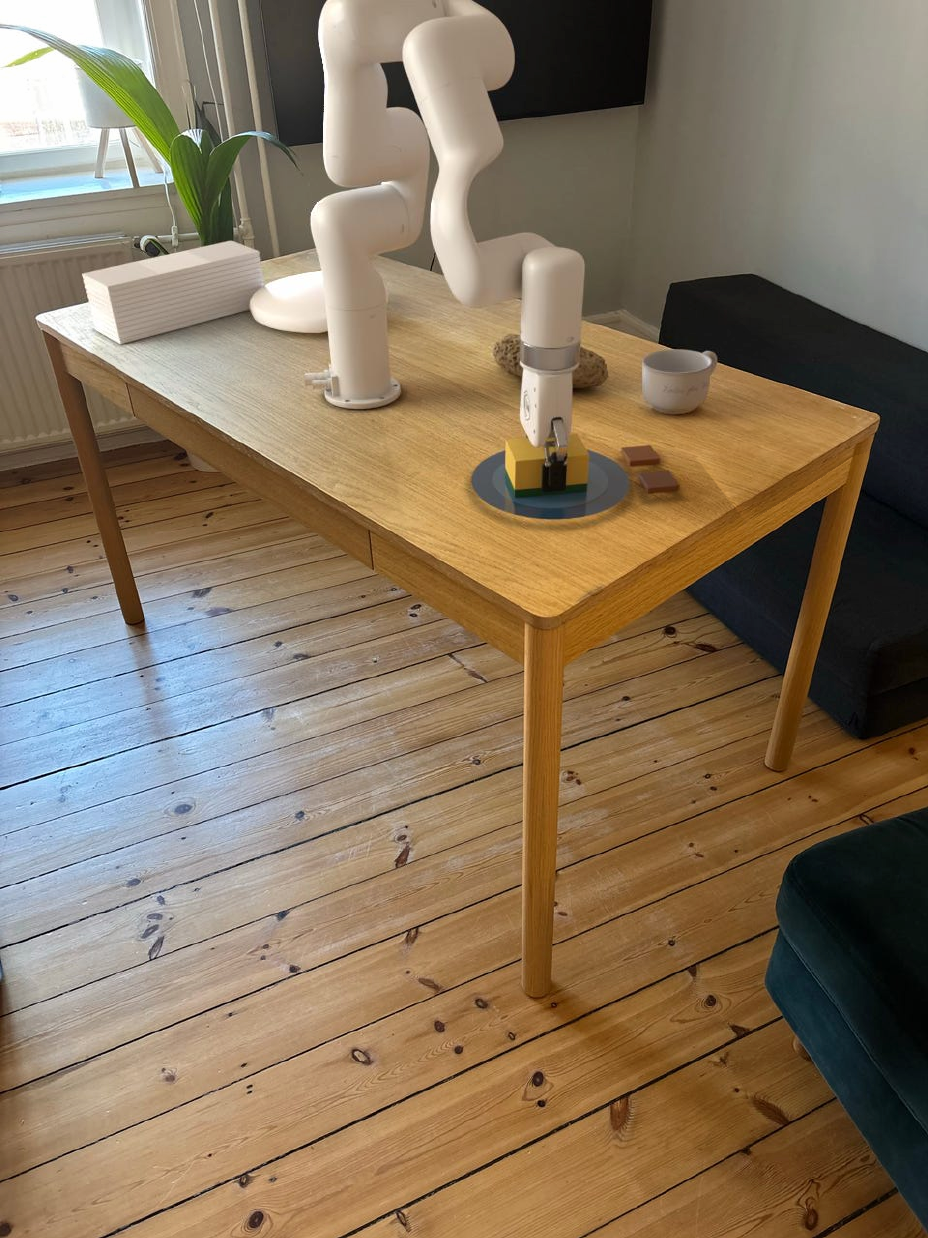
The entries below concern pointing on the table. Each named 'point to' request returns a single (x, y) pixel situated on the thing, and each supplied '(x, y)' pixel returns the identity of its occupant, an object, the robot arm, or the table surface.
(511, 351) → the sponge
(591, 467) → the side plate
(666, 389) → the teacup
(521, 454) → the scrub sponge
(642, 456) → the block
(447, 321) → the table surface
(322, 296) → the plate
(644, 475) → the block
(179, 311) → the white long rectangular block
